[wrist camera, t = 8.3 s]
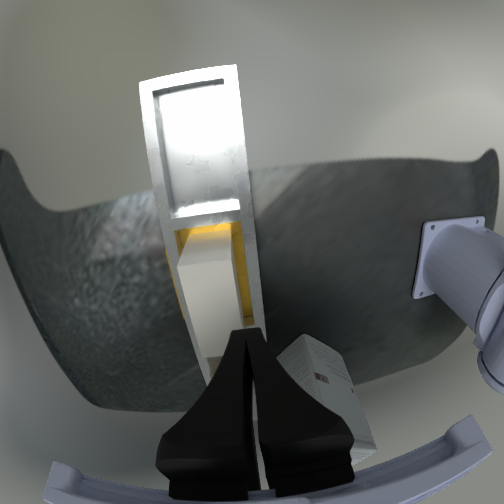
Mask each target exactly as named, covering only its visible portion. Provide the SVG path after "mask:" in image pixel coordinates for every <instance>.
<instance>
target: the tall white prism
mask: <svg viewBox="0 0 504 504" xmlns="http://www.w3.org/2000/svg"><path fill="white" fill-rule="evenodd" d="M177 269H178V273H179V277H180V281H181V285H182V289H183V292H184V296H185V300H186V304H187V307H188V311H189V314H190V318H191V321H192V325H193V328H194V332H195V335H196V338H197V342H198V345H199V348H200V351H201V354H202V358H207V357H218V356H223V354H224V352H225V349H226V347H227V344H228V341H229V337H230V332H231V331H232V330H239V329H244V317H243V308H242V301H241V295H240V288H239V282H238V275H237V268H236V261H235V255H234V248H233V241H232V234H231V229H227V230H220V231H212V232H205V233H198V234H191V235H189V236H188V238H187V241H186V244H185V246H184V249H183V251H182V254H181V257H180V259H179V262H178V265H177Z"/></svg>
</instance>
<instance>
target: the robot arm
mask: <svg viewBox="0 0 504 504" xmlns="http://www.w3.org/2000/svg"><path fill="white" fill-rule="evenodd" d="M484 222H485V218H484V217H483V216H474V217H464V218H455V219H445V220H436V221H427V222H425V223H424V225H423V230H422V238H421V246H420V253H419V260H418V266H417V272H416V277H415V283H414V288H413V292H412V297H413V298H414V299H418V298H422V297H425V296H429V295H433V294H437V295H438V296H439V297H440V298H441V299H442V300H443V301H444V302H445V303H446V304H447V305H448V306H449V307H450V308H451V309H452V310H453V311H454V312H455V313H456V314H457V315H458V316H459V317H460V318H461V319H462V320H463V321H464V322H465V323H466V324H467V325H468V326H469V327H470V328H471V330H473V332H474V333H475V334H476V338H475V340H474V344H475V345H476V346H477V348H478V349H479V350H480V351H479V353H478V357H477V363H478V367H479V370H480V373H481V374H482V377H483V378H484V380H485V381H486V383H487V384H488V385H489V386H490V387H491V388H492V389H494V390H495V391H497V392H499V393H502V394H504V237H502V236H501V235H499V234H497V233H495V232H493V231H492V230H490V229H488V228H486V227H484ZM431 226H432V228H431ZM253 381H254V385H255V393H256V405H257V419H258V435H259V444H260V448H261V452H262V456H263V460H264V465H265V474H266V479H267V482H268V485H269V490H261V485H260V478H259V472H258V471H259V470H258V462H257V454H256V446H255V437H254V429H253ZM354 440H355V439H354V436H353V434H352V432H351V430H350V428H349V427H348V425H347V424H346V422H345V421H344V419H343V418H342V417H341V416H339V415H338V414H336V413H334V412H333V411H331V410H330V409H328V408H326V407H325V406H324V405H322V404H321V403H319V402H318V401H317V400H316V399H314V398H313V397H312V396H311V395H310V394H308V393H307V392H306V391H305V390H304V389H303V388H302V387H300V386H299V385H298V384H297V383H296V382H295V380H294V379H293V378H292V377H291V376H290V375H289V374H288V373H287V372H286V370H285V369H284V368H283V367H282V365H281V364H280V363H279V361H278V360H277V358H276V357H275V355H274V354H273V352H272V351H271V349H270V347H269V346H268V344H267V342H266V340H265V338H264V335H263V333H262V329H261V328H260V327H255V328H247V329H239V330H232V331H231V332H230V337H229V341H228V344H227V347H226V349H225V352H224V354H223V357H222V359H221V361H220V364H219V366H218V368H217V370H216V372H215V373H214V375H213V377H212V379H211V381H210V382H209V384H208V386H207V387H206V389H205V390H204V392H203V393H202V394H201V396H200V397H199V398H198V400H197V401H196V402H195V404H194V405H193V406H192V407H191V408H190V410H189V411H188V412H187V413H186V414H185V415H184V416H183V417H182V418H181V419H180V420H179V421H178V422H177V423H176V424H175V425H174V426H173V427H171V428H170V429H169V430H168V431H167V432H166V433H164V434H163V435H162V437H161V440H160V443H159V447H158V450H157V457H156V467H157V469H158V470H159V471H160V472H161V473H162V474H163V475H165V476H166V477H167V478H168V479H169V480H170V484H169V490H159V489H151V488H144V487H137V486H132V485H126V484H121V483H116V482H111V481H106V480H103V479H98V478H95V477H91V476H88V475H84V474H82V473H81V472H80V471H79V470H78V469H76V468H74V467H72V466H69V465H66V464H63V463H61V462H58V461H53V464H52V467H51V470H50V474H49V477H48V480H47V484H46V488H45V492H44V495H43V500H44V501H46V502H48V503H50V504H415V503H417V502H419V501H421V500H423V499H425V498H427V497H429V496H431V495H432V494H434V493H436V492H438V491H440V490H441V489H443V488H445V487H447V486H448V485H450V484H451V483H453V482H455V481H456V480H458V479H460V478H461V477H463V476H464V475H466V474H467V473H468V472H470V471H471V470H472V469H474V468H475V467H476V466H477V465H478V464H480V463H481V462H482V461H483V460H484V459H485V458H487V457H488V456H489V455H490V454H491V453H492V452H493V449H492V447H491V445H490V443H489V442H488V440H487V438H486V437H485V435H484V433H483V431H482V430H481V428H480V426H479V425H478V423H477V421H476V420H475V418H474V417H473V415H469V416H467V417H466V418H464V419H463V420H461V421H459V422H457V423H456V424H454V425H453V426H452V427H450V428H449V429H448V430H447V431H446V433H445V435H444V436H442V437H440V438H438V439H436V440H434V441H432V442H430V443H428V444H426V445H424V446H422V447H419V448H417V449H415V450H413V451H411V452H408V453H406V454H404V455H402V456H399V457H396V458H394V459H391V460H389V461H386V462H383V463H381V464H378V465H375V466H372V467H369V468H366V469H363V470H360V471H357V472H354V471H353V468H352V465H351V462H352V458H351V455H350V451H351V449H352V446H353V444H354Z"/></svg>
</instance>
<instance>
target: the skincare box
mask: <svg viewBox="0 0 504 504" xmlns="http://www.w3.org/2000/svg"><path fill="white" fill-rule="evenodd" d="M276 358H277V360H278V361H279V363H280V364H281V365H282V367H283V368H284V369H285V370H286V372H287V373H288V374H289V375H290V376H291V377H292V378H293V379H294V380H295V382H296V383H297V384H298V385H299V386H300V387H302V388H303V389H304V390H305V391H306V392H307V393H308V394H310V395H311V396H312V397H313V398H314V399H316V400H317V401H318V402H319V403H321V404H322V405H324V406H325V407H326V408H328V409H330V410H331V411H333V412H334V413H336V414H338V415H339V416H341V417H342V418H343V419H344V421H345V422H346V424H347V425H348V427H349V428H350V430H351V432H352V434H353V436H354V439H355V440H354V444H353V446H352V449H351V451H350V455H351V458H352V462H351V465H352V466H353V465H354V464H356V463H358V462H360V461H362V460H363V459H365V458H367V457H368V456H370V455H371V454H373V453H374V452H376V451H377V447H376V444H375V442H374V439H373V436H372V434H371V431H370V428H369V425H368V422H367V420H366V417H365V414H364V412H363V409H362V406H361V404H360V401H359V399H358V396H357V394H356V391H355V388H354V386H353V383H352V381H351V378H350V376H349V373H348V371H347V368H346V366H345V363H344V361H343V358H342V356H341V355H340V354H339V353H338V352H337V351H335V350H333V349H332V348H330V347H329V346H327V345H325V344H324V343H322V342H320V341H318V340H316V339H315V338H313V337H311V336H309V335H307V334H302V335H301V336H299V337H298V338H297V339H296V340H295V341H293V342H292V343H291V344H290V345H289V346H288V347H287V348H286V349H285V350H284V351H283V352H282V353H280V354H279V355H278V356H277V357H276Z"/></svg>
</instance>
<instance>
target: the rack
mask: <svg viewBox="0 0 504 504" xmlns="http://www.w3.org/2000/svg"><path fill="white" fill-rule="evenodd" d="M139 89H140V99H141V109H142V117H143V125H144V133H145V140H146V147H147V154H148V160H149V166H150V172H151V178H152V184H153V189H154V194H155V200H156V205H157V210H158V215H159V219H160V224H161V229H162V233H163V238H164V242H165V246H166V248H165V251H166V256H167V260H168V264H169V268H170V271H171V275H172V279H173V283H174V287H175V290H176V294H177V297H178V301H179V304H180V308H181V311H182V315H183V318H184V319H185V321H186V324H187V328H188V331H189V334H190V337H191V340H192V344H193V347H194V350H195V353H196V356H197V359H198V362H199V365H200V368H201V370H202V373H203V376H204V379H205V382H206V385H207V386H208V384H209V382H210V381H211V379H212V377H213V375H214V373H215V372H216V370H217V368H218V366H219V364H220V361H221V359H222V357H223V356H218V357H207V358H202V354H201V351H200V348H199V345H198V342H197V338H196V335H195V332H194V328H193V325H192V321H191V318H190V314H189V311H188V307H187V304H186V300H185V296H184V292H183V289H182V285H181V281H180V277H179V273H178V269H177V265H178V262H179V259H180V257H181V254H182V251H183V249H184V246H185V244H186V241H187V238H188V236H189V235H191V234H198V233H205V232H212V231H220V230H227V229H231V234H232V241H233V248H234V255H235V261H236V268H237V275H238V282H239V288H240V295H241V301H242V308H243V317H244V329H247V328H255V327H260V328H261V329H262V333H263V335H264V338H265V340H266V342H267V339H266V329H265V320H264V310H263V301H262V291H261V282H260V272H259V263H258V254H257V245H256V235H255V226H254V217H253V208H252V199H251V190H250V181H249V172H248V163H247V154H246V146H245V137H244V129H243V120H242V111H241V102H240V94H239V85H238V77H237V69H236V65H228V66H220V67H212V68H206V69H199V70H193V71H188V72H183V73H177V74H173V75H168V76H163V77H159V78H155V79H151V80H147V81H143V82H140V83H139ZM254 420H258V419H257V405H256V393H255V385H254V381H253V421H254Z"/></svg>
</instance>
